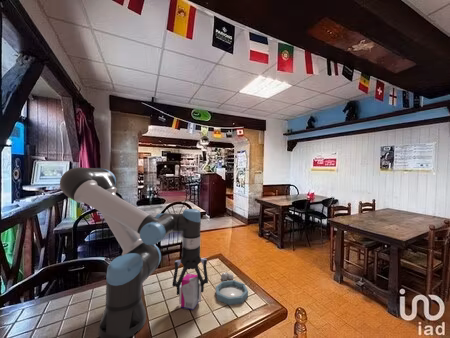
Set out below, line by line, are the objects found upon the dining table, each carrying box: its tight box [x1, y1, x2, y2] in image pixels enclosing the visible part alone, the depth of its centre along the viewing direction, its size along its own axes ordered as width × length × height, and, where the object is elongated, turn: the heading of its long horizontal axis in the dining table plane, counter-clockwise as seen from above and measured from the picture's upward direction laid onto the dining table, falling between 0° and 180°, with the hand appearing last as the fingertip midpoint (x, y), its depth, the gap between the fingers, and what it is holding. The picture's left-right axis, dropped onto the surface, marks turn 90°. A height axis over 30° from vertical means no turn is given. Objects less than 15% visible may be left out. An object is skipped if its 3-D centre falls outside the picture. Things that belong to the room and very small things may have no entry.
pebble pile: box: [220, 272, 234, 281], centre depth 104 cm, size 6×6×4 cm
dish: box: [215, 279, 249, 306], centre depth 90 cm, size 14×14×2 cm
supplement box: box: [180, 273, 200, 311], centre depth 82 cm, size 6×6×12 cm
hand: (190, 300), depth 82 cm, fingers closed on supplement box, 7 cm apart
